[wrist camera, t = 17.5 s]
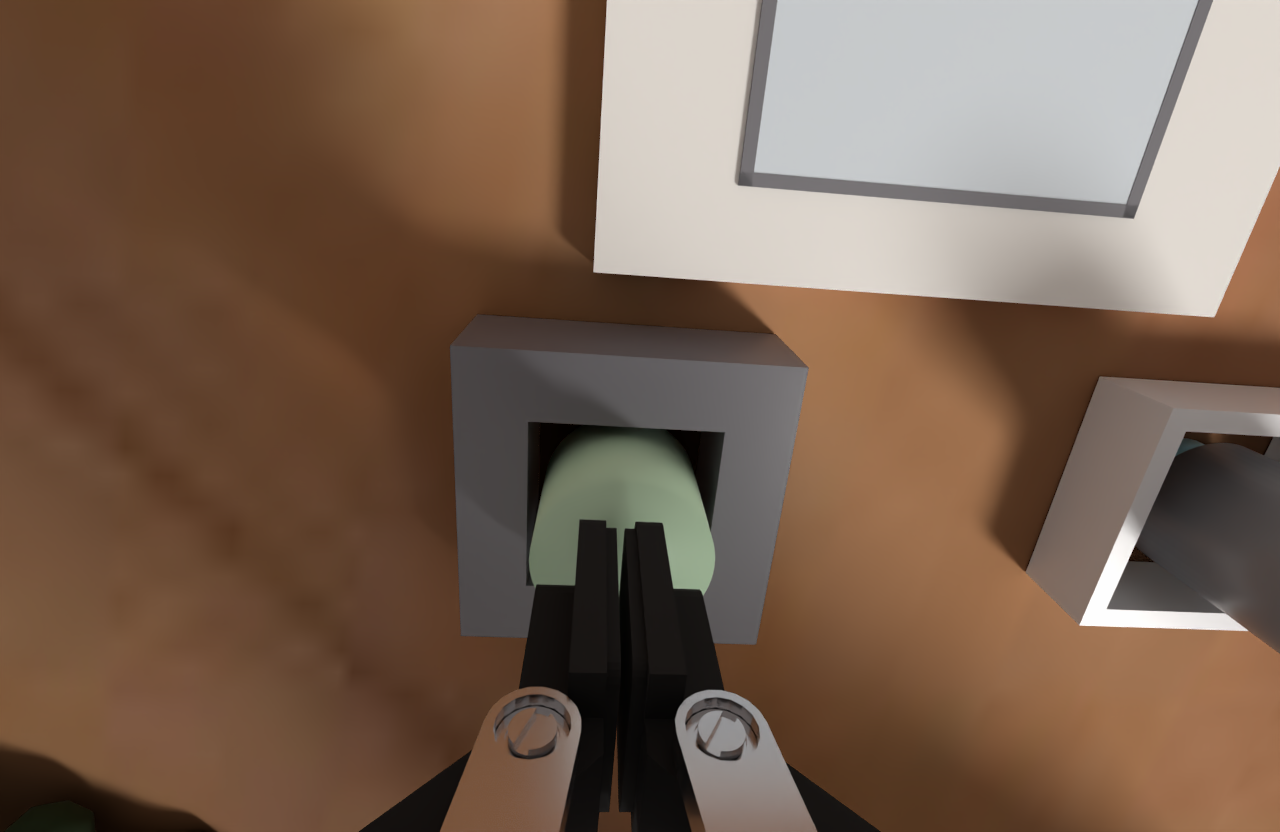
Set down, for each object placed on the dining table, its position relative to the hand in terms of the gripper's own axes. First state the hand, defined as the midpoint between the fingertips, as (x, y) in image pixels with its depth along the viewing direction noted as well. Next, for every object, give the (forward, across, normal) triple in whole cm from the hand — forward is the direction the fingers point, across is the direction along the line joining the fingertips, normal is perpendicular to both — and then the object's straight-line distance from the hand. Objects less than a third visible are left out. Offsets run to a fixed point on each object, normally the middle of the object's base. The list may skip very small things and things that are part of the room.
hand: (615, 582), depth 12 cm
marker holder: (+6, -17, 0) cm, 18 cm away
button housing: (+6, 0, 0) cm, 6 cm away
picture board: (+6, -7, -11) cm, 14 cm away
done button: (+4, 0, 0) cm, 4 cm away
